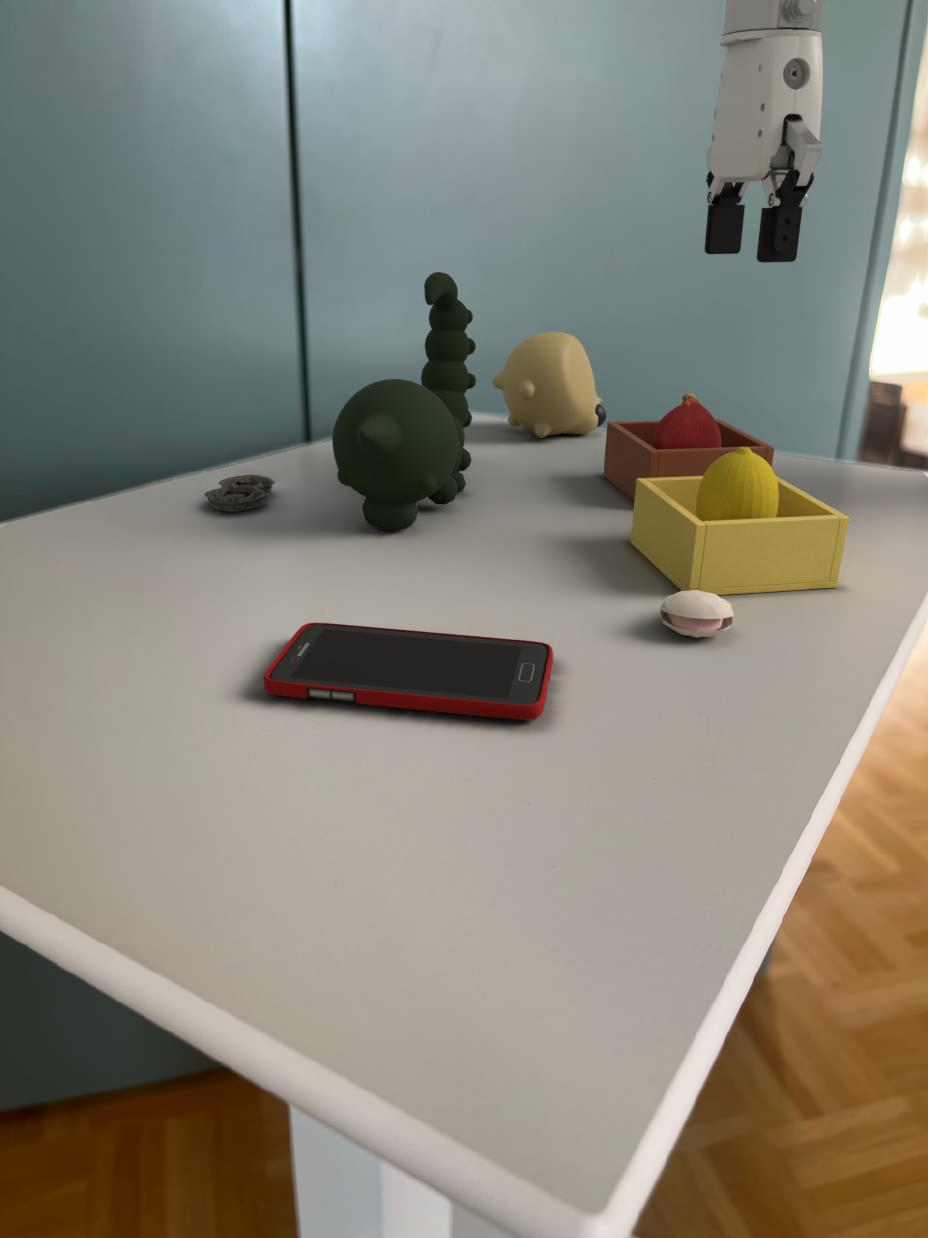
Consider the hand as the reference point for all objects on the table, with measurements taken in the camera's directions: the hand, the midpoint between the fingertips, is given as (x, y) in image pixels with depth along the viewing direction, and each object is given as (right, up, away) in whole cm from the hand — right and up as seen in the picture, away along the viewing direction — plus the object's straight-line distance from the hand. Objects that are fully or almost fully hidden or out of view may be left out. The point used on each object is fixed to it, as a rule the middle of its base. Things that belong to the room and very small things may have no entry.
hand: (747, 257), depth 84 cm
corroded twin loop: (-42, -21, -1) cm, 47 cm away
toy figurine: (-28, -21, -1) cm, 35 cm away
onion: (-5, -19, +4) cm, 20 cm away
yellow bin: (-5, -26, -12) cm, 30 cm away
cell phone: (-27, -34, -30) cm, 52 cm away
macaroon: (-10, -31, -23) cm, 40 cm away
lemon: (-5, -26, -13) cm, 29 cm away
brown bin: (-5, -19, +4) cm, 20 cm away
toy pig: (-15, -11, +23) cm, 29 cm away
